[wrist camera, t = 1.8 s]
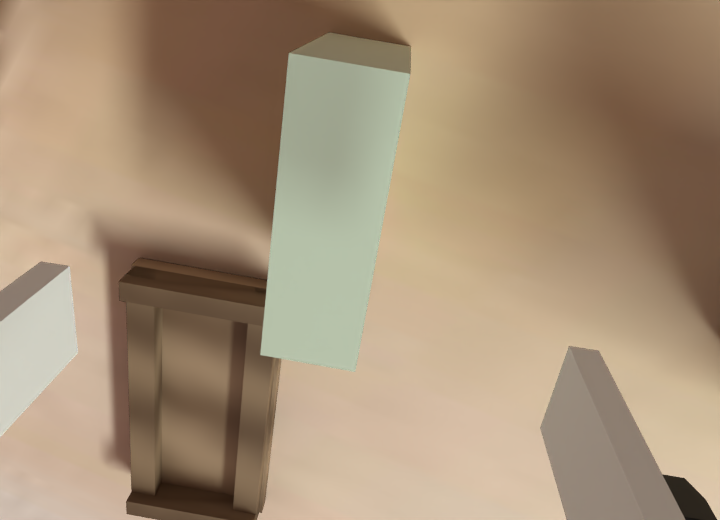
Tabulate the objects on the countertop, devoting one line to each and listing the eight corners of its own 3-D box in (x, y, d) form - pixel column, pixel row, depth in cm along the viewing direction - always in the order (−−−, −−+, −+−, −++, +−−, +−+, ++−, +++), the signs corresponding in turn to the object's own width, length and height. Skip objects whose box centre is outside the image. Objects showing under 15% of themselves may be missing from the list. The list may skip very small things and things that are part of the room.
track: (139, 257, 34) (115, 281, 31) (289, 284, 34) (279, 310, 31) (142, 479, 41) (123, 513, 39) (264, 501, 41) (254, 537, 39)
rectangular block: (329, 32, 28) (288, 52, 19) (411, 46, 28) (410, 73, 19) (302, 254, 33) (260, 354, 24) (371, 266, 33) (355, 371, 24)
